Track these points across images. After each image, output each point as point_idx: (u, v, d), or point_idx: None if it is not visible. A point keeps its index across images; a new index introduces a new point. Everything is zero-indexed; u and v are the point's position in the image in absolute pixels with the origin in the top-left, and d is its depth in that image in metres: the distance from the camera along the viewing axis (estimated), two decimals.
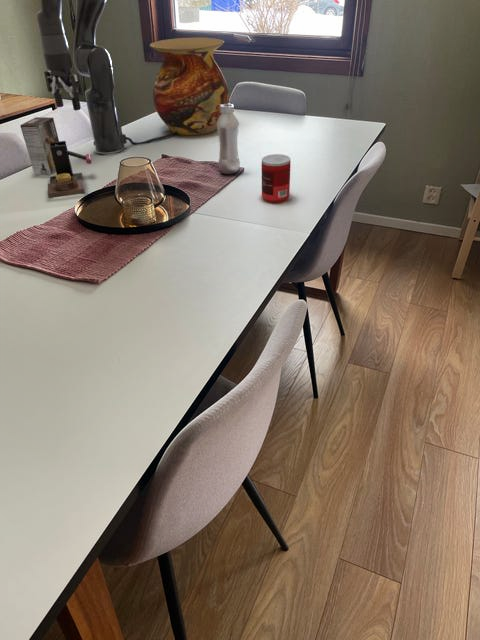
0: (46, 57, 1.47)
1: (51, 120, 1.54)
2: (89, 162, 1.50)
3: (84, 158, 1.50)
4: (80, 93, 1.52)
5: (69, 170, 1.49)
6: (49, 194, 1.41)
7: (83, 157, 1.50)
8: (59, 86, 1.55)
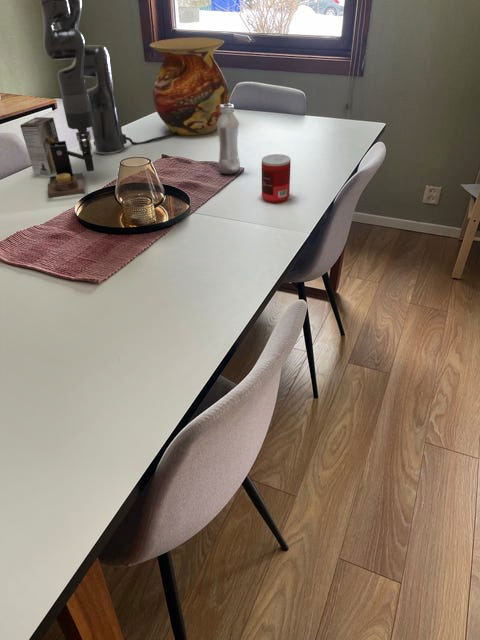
0: (65, 114, 1.43)
1: (51, 120, 1.54)
2: None
3: None
4: (88, 156, 1.46)
5: (69, 170, 1.49)
6: (49, 194, 1.41)
7: None
8: None
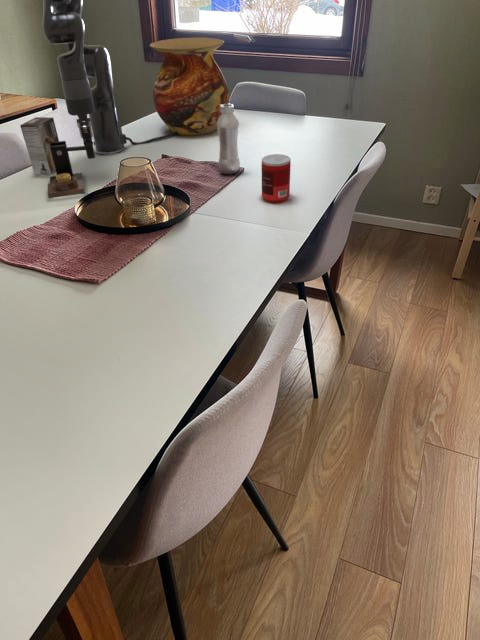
0: None
1: (51, 120, 1.54)
2: None
3: (84, 148, 1.49)
4: (89, 143, 1.44)
5: (69, 170, 1.49)
6: (49, 194, 1.41)
7: (83, 148, 1.49)
8: None
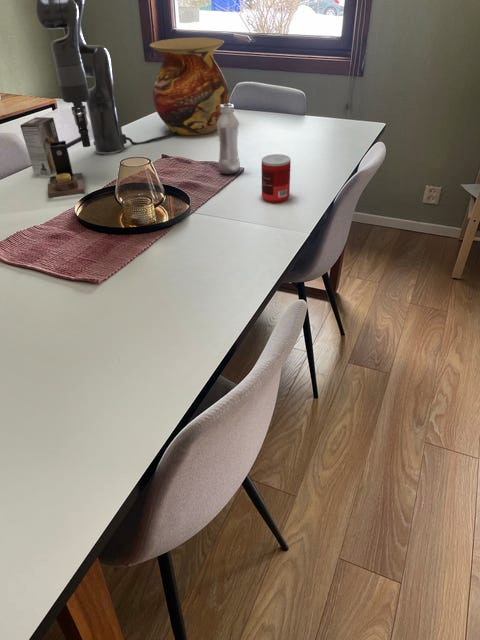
0: (60, 87, 1.39)
1: (51, 120, 1.54)
2: None
3: None
4: (84, 131, 1.41)
5: (69, 170, 1.49)
6: (49, 194, 1.41)
7: (79, 139, 1.47)
8: None
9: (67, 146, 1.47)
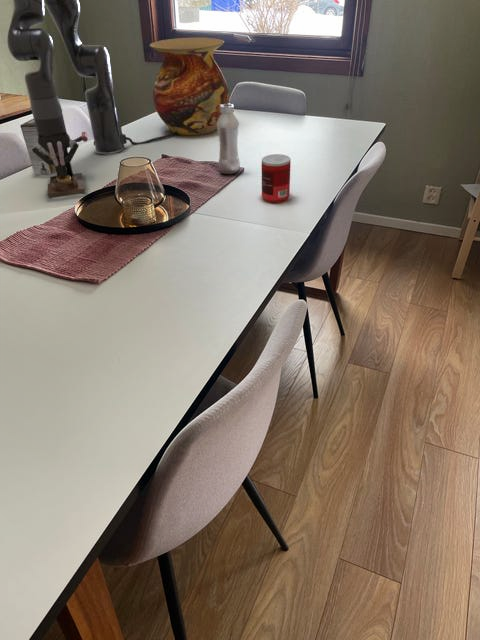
0: None
1: None
2: (86, 139, 1.46)
3: (81, 139, 1.47)
4: None
5: (69, 170, 1.49)
6: (49, 194, 1.41)
7: (79, 139, 1.47)
8: None
9: (67, 146, 1.47)
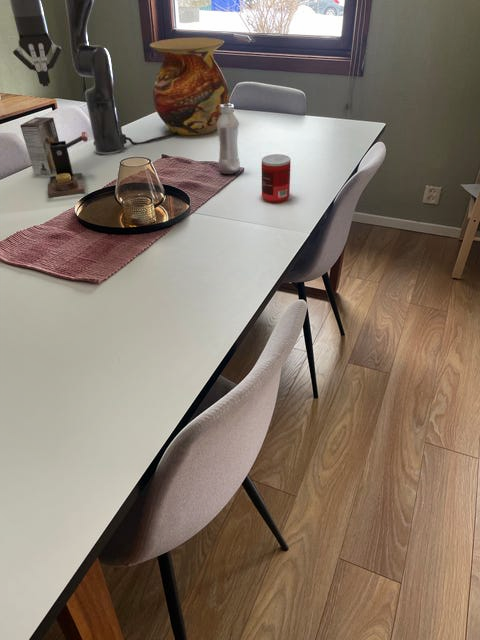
0: None
1: (51, 120, 1.54)
2: (86, 139, 1.46)
3: (81, 139, 1.47)
4: None
5: (69, 170, 1.49)
6: (49, 194, 1.41)
7: (79, 139, 1.47)
8: None
9: (67, 146, 1.47)
